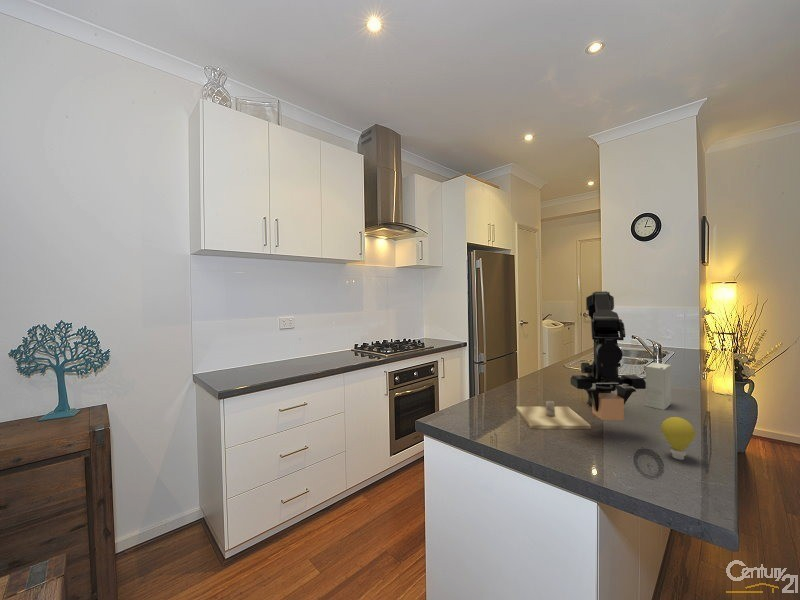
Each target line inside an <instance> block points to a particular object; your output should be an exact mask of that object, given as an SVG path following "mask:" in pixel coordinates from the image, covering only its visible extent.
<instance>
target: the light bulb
mask: <svg viewBox="0 0 800 600" xmlns="http://www.w3.org/2000/svg"><path fill="white" fill-rule="evenodd" d="M660 430H661V433H662V434H663V436H664V438H665V440H666V441H667V443H669V445H670V448H669V453H671V457H672V458H673V459H676V460H685V457H686V456H687V450H686V448H688V446H690V444H691V443H692V442H693V441H694V439H695V438H696V432H695V428H694V427H693V425H692V423H690V422H689V421H688V420H686V419H684V418H682V417H680V416H679V417H678V416H671V417H668V418H665V419H664V420H663V422H661V427H660Z"/></svg>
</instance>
